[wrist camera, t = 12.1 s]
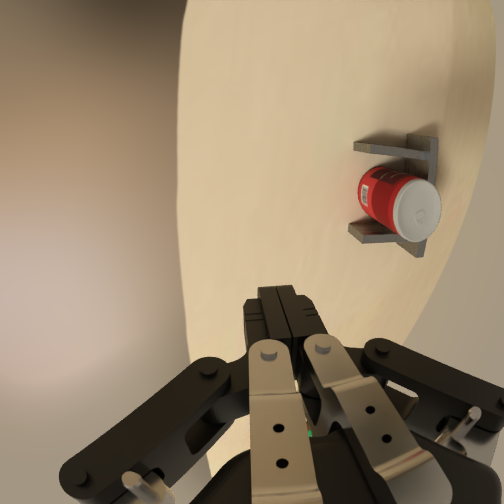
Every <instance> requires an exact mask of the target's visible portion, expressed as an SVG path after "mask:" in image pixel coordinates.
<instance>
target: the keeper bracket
mask: <svg viewBox="0 0 504 504" xmlns="http://www.w3.org/2000/svg"><path fill="white" fill-rule="evenodd" d="M353 150H354V151H359V152H365V153H371V154H381V155H390V156H398V157H406V163H405V173H406V174H409V175H412V176H416V177H419V178H421V179H424V180H426V181H428V182H430V183H431V184H433V185H434V186H435V181H436V171H437V157H438V138H434V137H429V136H420V135H410V134H407V143H406V148H399V147H392V146H384V145H376V144H367V143H357V142H354V149H353ZM348 232H349V233H350V234H352V235H353V236H354V237H355V238H356V239H357V240H359V241H360V242H361V243H362V244H364V243H384V242H396V243H397V244H398V245H399V246H401V247H402V248H404V249H405V250H406V251H408V252H409V253H410V254H411V255H413V256H414V257H415V258H418V257H423V256H424V251H425V246H426V241H427V238H426V239H425V240H423V241H420V242H411V241H408V240H406V239H404V238H402V237H401V236H399V235H398V234H396V233H395V232H393V231H392V230H390V229H389V228H387V227H386V226H384V225H383V224H381V223H364V224H349V226H348Z"/></svg>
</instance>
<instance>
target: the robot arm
mask: <svg viewBox="0 0 504 504" xmlns="http://www.w3.org/2000/svg"><path fill="white" fill-rule="evenodd" d="M243 314H244V335H245V343H246V351H247V352H246V354H245V355H244V356H243V357H241V358H240V359H238V360H236V361H233V362H230V363H226V362H225V361H224V360H222V359H220V358H216V357H204V358H200V359H198V360H196V361H194V362H193V363H192V364H190V365H189V366H188V367H187V368H186V369H185V370H183V371H182V372H181V373H180V374H179V375H177V376H176V377H175V378H174V379H173V380H171V381H170V382H169V383H168V384H167V385H165V386H164V387H163V388H162V389H160V390H159V391H158V392H157V393H155V394H154V395H153V396H152V397H151V398H149V399H148V400H147V401H146V402H144V403H143V404H142V405H141V406H139V407H138V408H137V409H136V410H134V411H133V412H132V413H131V414H129V415H128V416H127V417H125V418H124V419H123V420H121V421H120V422H119V423H118V424H116V425H115V426H114V427H112V428H111V429H110V430H108V431H107V432H106V433H105V434H103V435H102V436H100V437H99V438H98V439H97V440H95V441H94V442H92V443H91V444H90V445H88V446H87V447H86V448H84V449H83V450H82V451H80V452H79V453H77V454H76V455H75V456H73V457H72V458H70V459H69V460H68V461H67V462H65V463H64V464H63V465H62V467H61V469H60V472H59V481H60V485H61V486H62V488H63V490H64V491H65V492H66V493H67V494H68V495H70V496H71V497H73V498H74V499H76V500H78V501H79V502H80V503H81V504H174V503H175V498H174V495H173V493H172V491H171V490H170V487H172V485H174V484H175V483H176V482H177V481H178V480H179V479H180V478H181V477H182V476H183V475H184V474H185V473H186V472H187V471H188V470H189V469H190V468H191V467H192V466H193V465H194V464H195V463H196V462H197V461H198V460H199V459H200V458H201V457H202V456H203V455H204V454H205V453H206V452H207V451H208V450H209V449H210V448H211V447H212V446H213V445H214V444H215V443H216V442H217V440H218V439H219V438H220V437H221V436H222V435H223V434H224V433H225V432H226V431H227V430H228V428H229V427H230V426H231V425H232V424H233V422H234V420H235V419H237V418H240V417H243V416H245V415H248V414H250V448H251V449H249V450H246V451H244V452H242V453H240V454H238V455H236V456H235V457H233V458H232V459H230V460H229V461H228V462H227V463H226V464H224V465H223V466H222V467H221V469H220V470H219V471H218V472H217V473H216V474H215V476H214V477H213V478H212V479H211V480H210V481H209V482H208V484H207V485H206V486H205V487H204V488H203V489H202V490H201V492H200V493H199V494H198V495H197V496H196V497H195V498H194V499H193V500H192V501H191V502H190V503H189V504H501V495H502V494H501V493H502V487H501V482H500V479H499V477H498V475H497V473H496V472H495V471H494V470H493V469H492V468H491V467H490V465H491V462H492V459H493V456H494V452H495V449H496V445H497V441H498V437H499V433H500V431H501V429H502V428H503V427H504V388H501V387H499V386H496V385H494V384H491V383H489V382H486V381H484V380H481V379H479V378H476V377H474V376H472V375H469V374H467V373H464V372H462V371H460V370H457V369H455V368H452V367H450V366H448V365H445V364H443V363H441V362H438V361H436V360H434V359H431V358H429V357H427V356H424V355H422V354H420V353H417V352H415V351H413V350H410V349H408V348H406V347H404V346H401V345H399V344H397V343H394V342H392V341H390V340H387V339H384V338H374V339H371V340H369V341H368V342H366V344H365V346H364V348H350V347H344V346H343V345H342V344H341V342H340V341H339V340H338V339H337V338H335V337H334V336H331V335H329V334H328V332H327V330H326V328H325V326H324V324H323V322H322V320H321V318H320V316H319V315H318V312H317V310H316V309H315V306H314V304H313V302H312V300H310V299H309V298H308V297H306V296H305V295H296V293H295V290H294V288H293V286H292V285H282V286H269V287H258V298H257V299H247V300H246V302H245V304H244V306H243ZM294 380H297V383H298V390H297V391H296V387H295V381H294ZM389 380H390V381H392V382H394V383H396V384H398V385H401V386H402V387H405V388H407V389H409V390H411V391H413V392H415V393H416V394H417V395H418V397H410V396H408V395H406V394H404V393H402V392H399V391H398V390H395V389H393V388H391V387H389V386H387V383H388V381H389ZM305 417H306V419H307V422H308V424H309V427H310V430H311V433H312V437H309V435H308V430H307V424H306V419H305Z"/></svg>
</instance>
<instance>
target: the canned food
mask: <svg viewBox="0 0 504 504" xmlns="http://www.w3.org/2000/svg"><path fill="white" fill-rule="evenodd" d="M358 199H359V202H360V204H361V207H362V208H363V210H364V211H365V212H366V213H367V214H368V215H369V216H371V217H372V218H374V219H375V220H377V221H378V222H380V223H381V224H383V225H384V226H386V227H387V228H389V229H390V230H392V231H393V232H395V233H396V234H398V235H399V236H401V237H402V238H404V239H406V240H408V241H411V242H420V241H423V240H425V239H426V238H428V237H429V236H430V235H431V234H432V233H433V232H434V230H435V229H436V227H437V225H438V223H439V220H440V216H441V198H440V195H439V193H438V191H437V189H436V188H435V186H434V185H433V184H431V183H430V182H428V181H426V180H424V179H421V178H419V177H416V176H412V175H409V174H406V173H402V172H399V171H395V170H392V169H388V168H384V167H377V168H374V169H371V170H369V171H368V172H366V173H365V174H364V175H363V177H362V178H361V180H360V183H359V186H358Z"/></svg>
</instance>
